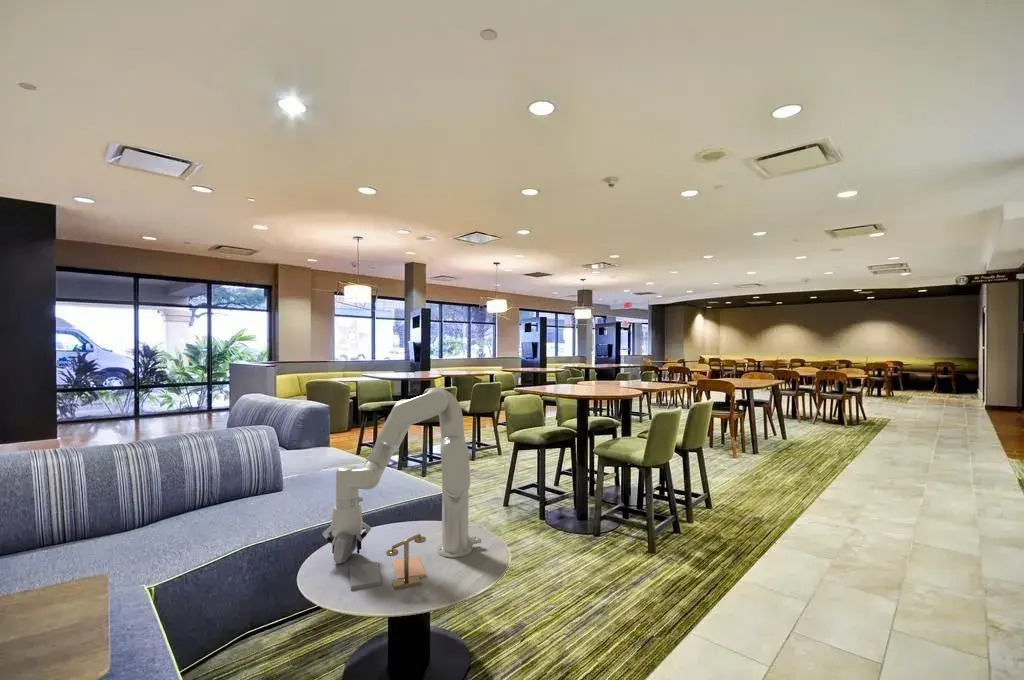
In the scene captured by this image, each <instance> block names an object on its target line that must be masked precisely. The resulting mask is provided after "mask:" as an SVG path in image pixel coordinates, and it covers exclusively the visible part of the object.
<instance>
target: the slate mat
mask: <svg viewBox="0 0 1024 680" xmlns="http://www.w3.org/2000/svg"><path fill="white" fill-rule="evenodd" d="M349 582H350V591H353V590H358V589H359V590H360V589H366V588H370V587H376V586H382V578H381V574H380V569H379V563H378V561H376V562H369V563H364V564H356V565H350V566H349Z"/></svg>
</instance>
